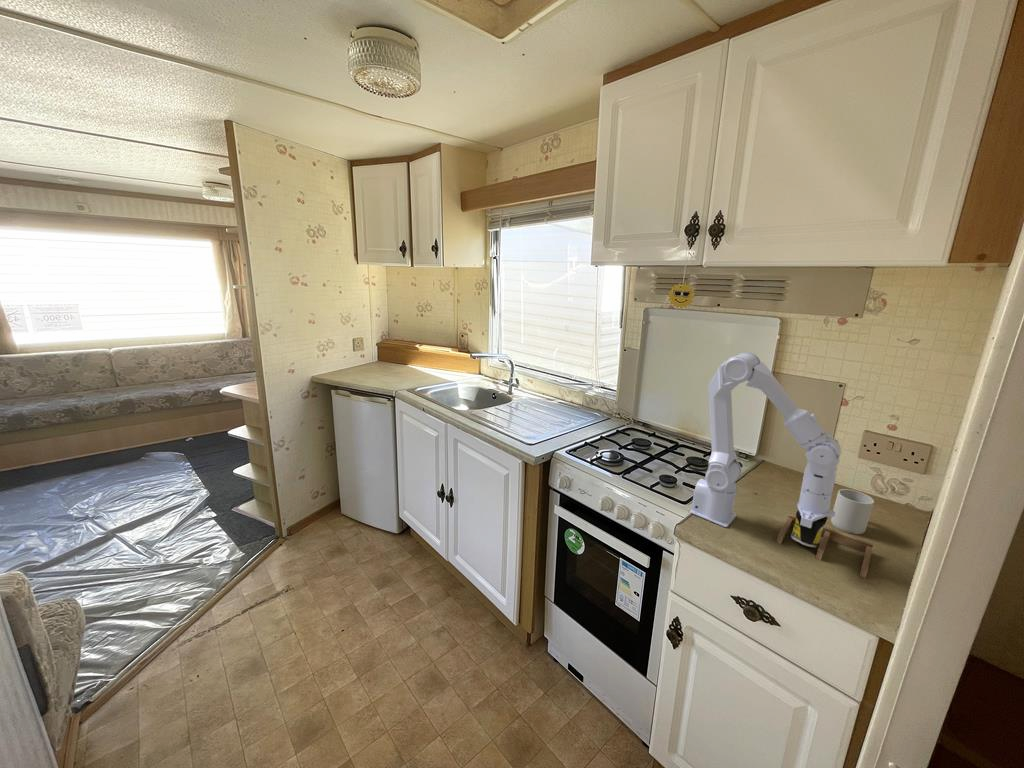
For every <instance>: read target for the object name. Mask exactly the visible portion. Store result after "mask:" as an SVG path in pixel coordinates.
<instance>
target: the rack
mask: <svg viewBox="0 0 1024 768" xmlns="http://www.w3.org/2000/svg"><path fill="white" fill-rule="evenodd" d="M796 519H797V518H796V515H794V514H788V517H787V518H786V521H785V522H784V523H783V525H782V527H781V529H780V531H779V532H778V534H777V536H776V537H777V538H776V543H778V544H780V545H782V543H783V541H784V540H785V538H786V535H787V534H788V533H789V531H790V529H791V526H792V527H794V525H795V522H796ZM820 538H821V541H820V544H819V547H818V548H817V551H816V556H815V559H817V560H819V561H822V558H823V557H824V556H823V555H824V553H825V551H826V548H827V545H828V542H829V541H832V542H835V543H837V544H840V545H843V546H846V547H848V548H851V549H854V550H857V551H860V552H862V553H864V555H863V560H862V563H861V569H860V572H859V577H862V578H864V579H866V577H867V575H868V570H869V566H870V562H871V561H870V560H871V557H872V550H873V547H874V543H872V542H869V541H866V540H863V539H861V538H858V537H855V536H852V535H850V534H846V533H844V532H841V531H839V530H838V531H837V530H835V529H833V528H830V527H827V526H825V525H824V527H823V530H822V533H821V536H820Z"/></svg>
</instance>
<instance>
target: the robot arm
mask: <svg viewBox="0 0 1024 768" xmlns="http://www.w3.org/2000/svg"><path fill="white" fill-rule="evenodd" d="M746 381H748V382H747V383H746V384H745V386H747V387H750V388H753V389H758V390H761V391H762V393H763V394H764V395H765V396H766V398H768V400H769V401H770V402H771V403H772V404H773V405H774V406H775V407H776V409H777V410H778V411H779V412H780V413H781V414H782V415H783V423H782V424H783V425H784V427H785V428H786V429H787V430H788V432H789V433H790V434H791V436H792V437H793V438H794V440H795V441H796V442H797V443H798V444H799V445H800V447H801V448H802V449H804V450H805V451H806V452H805V458H806V460H807V461H806V462H807V463H806V466H805V467H804V472H803V477H802V483H801V487H800V493H799V499H798V501H797V504H796V506H797V509H798V510H797V511H796V513H795V516H796V518H797V519H798V522H799V525H800V537H801V542H804V543H807V544H810V545H812V543H813V542H814V540H815V537H816V535H817V533H818V531H819V530H820V528H821V527H823V526H825V524H826V523H827V520H828V517H830V518H831V517H834V516H835V512H834V511H833V510H831V509H830V507H831V501H832V497H833V496H832V495H833V491H834V488H835V487H834V485H835V482H836V481H835V480H836V478H837V477H836V476H837V474H836V472H837V469H838V468H837V467H838V466H837V465H838V464H839V463H840V457H841V453H842V449H841V446H840V443H839V441H838V440H837V439H836V438H835V437H833V435H831V433H827V432H826V431H825V429H824V428H823V427H822V426H821V425H820V423H819V422H818V421H817V420H818V416H817V415H816V414H815V413H812V414H811V413H810V411H809V410H808V409H802V408H799V407H797V405H796V404H795V402H794V400H793V399H792V398H791V396H789V394H788V392H787V391H786V390H785V389H784V388H783V386H782V385H781V384H780V382H779V381H778V380H777V378H776V377H775V376H774V374H773V373H772V371H771V370H770V369H769V368H768V366H767V365H766V364H765V363H764V362H763V361H761V359H760V358H759V356H758V355H756V354H755V353H753V352H748V351H747V352H746V351H744V352H741V353H738V354H737V355H735V356H732V357H729V358H728V359H727V360H725V361H724V362H723V363H721V364H720V365H719V366H718V368H717V371H716V372H715V374H714V375H713V377H712V379H711V380H710V382H709V383H708V402H709V405H708V406H709V425H710V442H711V443H710V444H711V454H710V457H709V460H708V468H707V471H706V473H705V477H704V478H699V480H698V481H697V482H696V485H695V488H694V491H693V497H692V503H691V509H690V511H689V513H691V514H693V515H695V516H697V517H699V518H702V519H704V520H707V521H709V522H712V523H715V525H716V524H717V525H719V526H721V527H724V528H728V527H729V526H730V525H731V523H732V522H733V521H734V520H735V518H736V517H737V513H735V512H733V511H734V505H735V500H736V494H737V490H738V486H737V484H736V480H737V479H738V478H739V477H740V476H741V473H742V466H741V464H740V463H739V461H738V457H737V456H738V455H737V453H736V451H735V447H734V446H735V445H734V427H733V425H734V424H733V404H732V391H733V390H734V389H735V388H736V387H737V386H739V385H740V384H742V383H744V382H746Z"/></svg>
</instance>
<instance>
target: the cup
mask: <svg viewBox="0 0 1024 768" xmlns="http://www.w3.org/2000/svg"><path fill="white" fill-rule="evenodd" d="M874 503H875V501H874V499H873V497H871V496H870V495H867V494H865V493H862V492H861V491H857V490H854V489H847V488H845V489H844V488H842V489H838V491H837V495H836V498H835V501H834V506H833V510H832V511H834V512H835V516H834V517H830V522H831V524H832V525H833V526H834V527H835V528H836V529H838V530H841V531H842V532H843V533H844V532H845V533H848V534H853V535H862V534H864V533H865V532H866V530H867V527H868V524H869V520H870V516H871V514H872V510H873V506H874Z"/></svg>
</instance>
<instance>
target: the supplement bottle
mask: <svg viewBox="0 0 1024 768" xmlns="http://www.w3.org/2000/svg"><path fill="white" fill-rule="evenodd" d="M824 526H825V525H824ZM824 526H823V527H824ZM823 527H821V528H820V530H819V531H818V533H817V535H816V537H815V540H814V542H813V543H812V545H810V544H807V543H804V542H801V537H800V525H799V522H798V519H796V522H795V525H794V526H793V528H792V531H791V536H790V537H791V539H792V540H793V541H795V542H798V543H799V544H801V545H803V546H806V547H809V548H817V547H818V545H819V542H820V539H821V533H822V530H823Z"/></svg>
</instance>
